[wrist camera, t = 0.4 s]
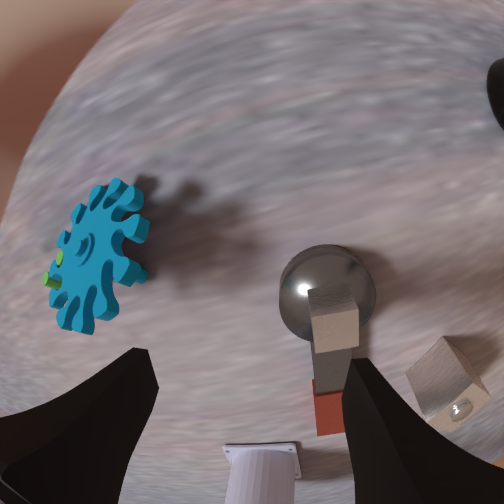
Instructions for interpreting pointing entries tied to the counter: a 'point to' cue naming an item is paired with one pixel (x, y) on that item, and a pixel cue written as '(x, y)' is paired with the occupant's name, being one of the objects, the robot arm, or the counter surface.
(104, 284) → the gear
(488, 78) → the supplement bottle
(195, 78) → the counter surface
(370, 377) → the robot arm
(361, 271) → the ratchet
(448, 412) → the socket
